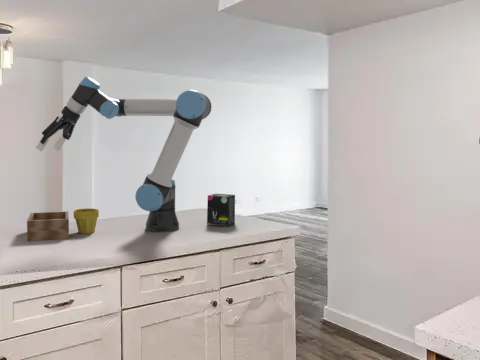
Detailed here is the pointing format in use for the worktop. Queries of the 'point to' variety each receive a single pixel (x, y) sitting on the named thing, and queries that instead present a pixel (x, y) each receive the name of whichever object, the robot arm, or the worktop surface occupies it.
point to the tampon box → (221, 210)
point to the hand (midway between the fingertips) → (47, 149)
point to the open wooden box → (48, 226)
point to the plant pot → (86, 219)
